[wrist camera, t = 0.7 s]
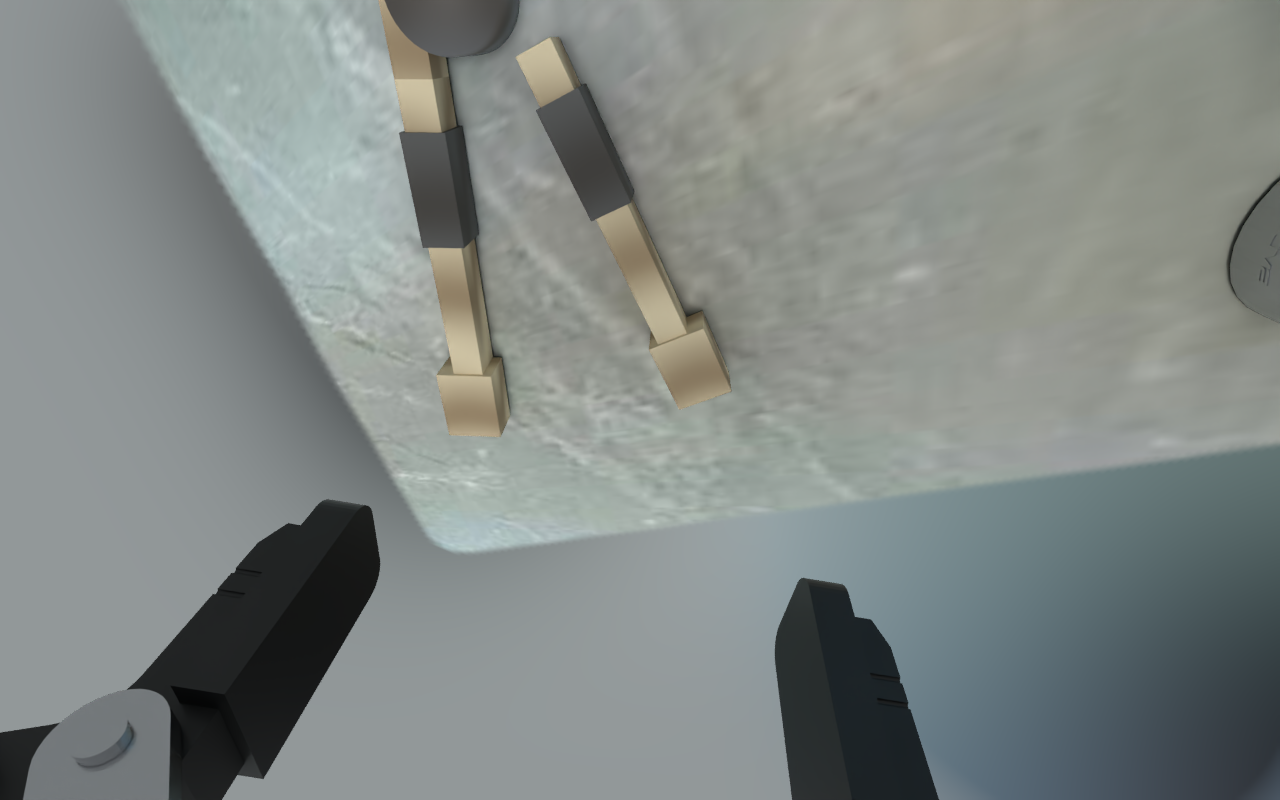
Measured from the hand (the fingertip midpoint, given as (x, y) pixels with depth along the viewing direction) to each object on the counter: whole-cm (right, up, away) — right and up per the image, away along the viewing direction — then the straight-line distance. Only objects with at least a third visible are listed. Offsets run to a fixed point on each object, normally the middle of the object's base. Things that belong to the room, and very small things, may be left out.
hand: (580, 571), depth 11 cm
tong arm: (+1, +11, +18) cm, 21 cm away
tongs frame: (-7, +12, +18) cm, 23 cm away
